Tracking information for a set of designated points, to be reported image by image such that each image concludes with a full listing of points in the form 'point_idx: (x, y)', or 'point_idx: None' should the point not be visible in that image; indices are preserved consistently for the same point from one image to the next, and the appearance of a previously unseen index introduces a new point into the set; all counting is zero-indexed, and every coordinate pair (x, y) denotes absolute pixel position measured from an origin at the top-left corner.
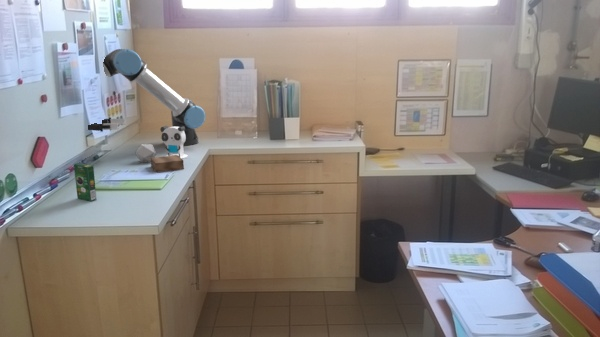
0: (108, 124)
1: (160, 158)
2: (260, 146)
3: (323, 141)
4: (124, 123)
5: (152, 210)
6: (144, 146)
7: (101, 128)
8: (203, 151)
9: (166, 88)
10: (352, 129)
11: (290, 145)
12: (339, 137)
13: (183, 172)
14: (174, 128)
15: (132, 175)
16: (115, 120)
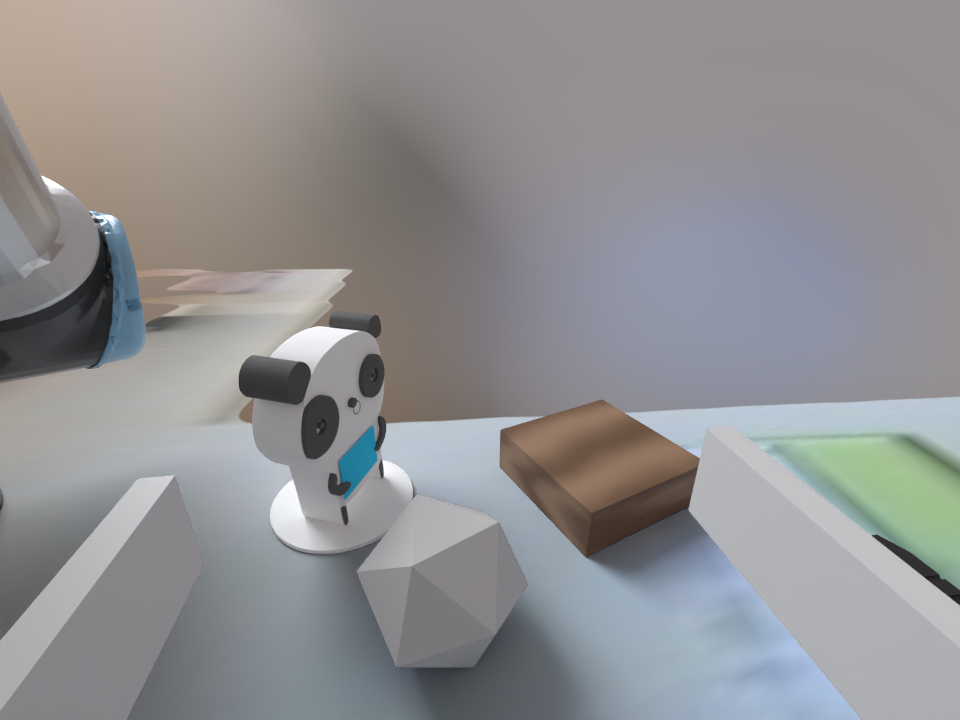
0: (871, 554)
1: (594, 468)
2: (258, 338)
3: (267, 286)
4: (196, 555)
5: None
6: (495, 520)
7: None
8: (252, 431)
9: None
10: (154, 270)
11: (282, 309)
12: (237, 277)
13: (650, 426)
14: (356, 334)
15: None
16: (54, 693)
